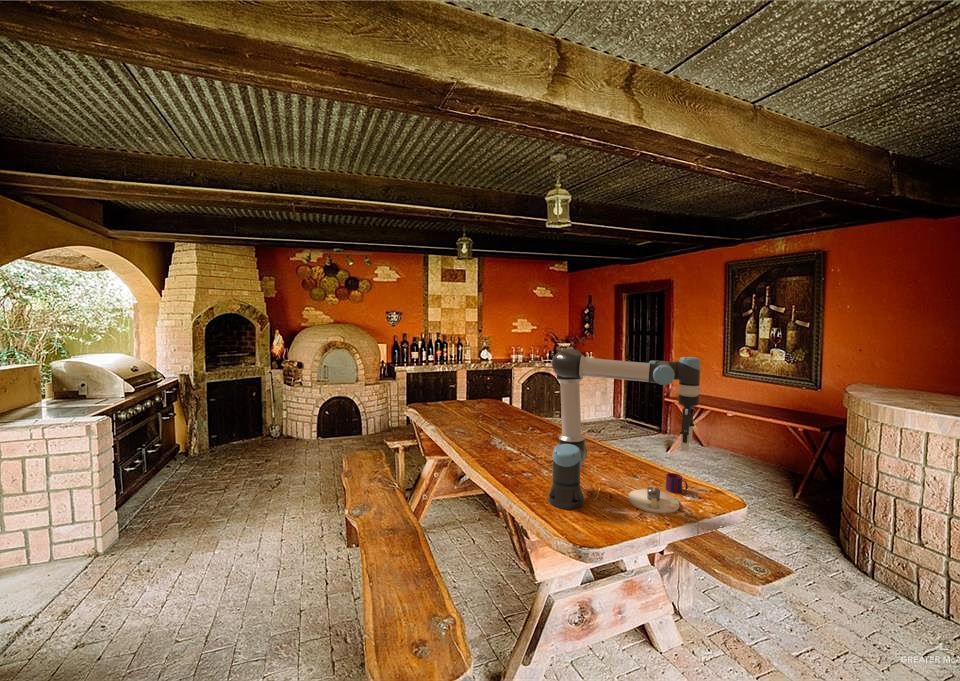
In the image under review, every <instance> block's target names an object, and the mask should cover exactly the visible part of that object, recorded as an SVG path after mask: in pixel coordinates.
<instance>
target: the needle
mask: <svg viewBox="0 0 960 681" xmlns="http://www.w3.org/2000/svg"><path fill="white" fill-rule="evenodd" d="M646 489H647V498H648V499H649V500H651V507H652V508H657V501H659V500H660V491H661V489H659V488H658V487H655V486H650V487H647V488H646Z"/></svg>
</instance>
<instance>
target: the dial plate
mask: <svg viewBox="0 0 960 681" xmlns="http://www.w3.org/2000/svg"><path fill="white" fill-rule="evenodd" d="M628 501H629V503H630V504H631V505H632V506H634V507H635V508H637V509H640V510H642V511H645V512H649V513H652V514H673V513H675V512H677V511H678V510H680V501H679V500H678V499H677V498H676V497H675V496H673V495H672V494H670V493H667V492H663V491H661V490H660V500H659V501H657V508H652V507H651V500H649V499H648V498H647V488H646V489H645V488H642V489H641V488H640V489H635V490H632V491H630V492H629V493H628Z"/></svg>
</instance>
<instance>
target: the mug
mask: <svg viewBox="0 0 960 681" xmlns="http://www.w3.org/2000/svg"><path fill="white" fill-rule="evenodd" d="M665 478H666V479H665V490H666V491H667V492H670V493H673V494H680V493H682V492H686V491H687V490H688V486H689V485H688V482H687V481H686V480H684V479H683V476H682V474H679V473H675V472H667V473H666V476H665ZM683 483H684V484H685V489H683Z"/></svg>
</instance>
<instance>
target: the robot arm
mask: <svg viewBox="0 0 960 681" xmlns="http://www.w3.org/2000/svg"><path fill="white" fill-rule="evenodd" d="M551 368H552V370H553V372H554V373H555V374H556V380H557V381H558V382H559V383H560V385H559V388H560V404H561V405H560V410H561V414H560V415H561V416H560V417H561V434H560V435H559V436H558V444H557V445H555V447H554V448H553V451H552V455H551V456H552V483H551V486H550V489H549V491H548V494H547V501H548V503H549V502H550V503H551V505H552V506H554V507H555V508H558V509H559V508H560V509H563V510H564V509H565V510H574V509H579V508H581V507H583V506H584V504H585V498H584V497H585V496H584V493H583V490H582V487H581V468H582V466H583V464H584V462H585V461H586V458H587V455H588V450H587V446H586V438H585V436H584V435H583V434H582V420H581V418H582V416H581V393H580V392H581V390H580V389H581V387H580V384H581V383H580V382H581V381H582V380H583V378H584V377H592V378H603V379H613V380H622V381H633V382H634V381H635V382H637V381H638V382H644V383H645V382H646V383H654V384H658V385H660V386H661V385H662V386H666V385H669V384H672V383H673V381H674V380H675V381H678V380H679V382H678V398H677V400H678V404H679V405H681V406H682V405H683V406H684V407H683V408H682V411H681V412H682V415H681V418H682V422H681V430H680V431H679V435H681V438H680V439H681V441H680V442H681V443H680V450H681V451H685V452H689V449H690V443H692V442H693V427H695V423H694V412H695V411H694V410H695V409H694V407H698V406H699V403H700V397H699V395H700V391H701V390H702V388H701V387H700V382H701V380H700V379H701V360H700V359H699V358H698V357H693V356H682V357H680V358H679V361H668V360H667V361H666V360H649V362H639V361H638V362H637V361H628V360H614V359H604V358H592V357H586V356H584V355H583V354H582V353H581V352H580V351H579V350H577V349H575V348H564V349H562V350H560V351H558V352H556V354H555V355H553V358H552V359H551ZM550 503H549V504H550Z"/></svg>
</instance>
